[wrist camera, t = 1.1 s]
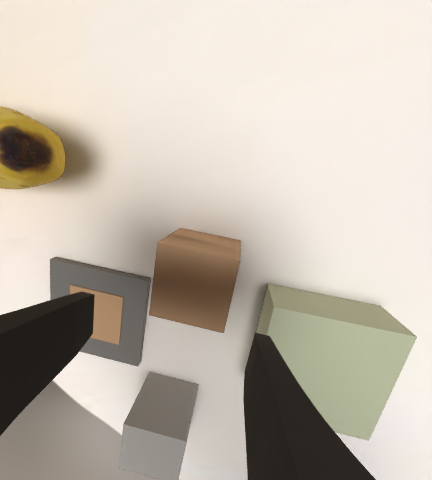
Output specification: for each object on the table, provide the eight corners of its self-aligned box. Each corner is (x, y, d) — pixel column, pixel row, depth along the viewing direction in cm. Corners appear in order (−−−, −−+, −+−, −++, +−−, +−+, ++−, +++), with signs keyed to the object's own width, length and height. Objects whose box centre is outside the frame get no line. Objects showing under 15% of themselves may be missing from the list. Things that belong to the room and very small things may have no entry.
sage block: (344, 391, 20) (368, 440, 16) (246, 368, 20) (247, 410, 17) (378, 304, 18) (417, 337, 14) (267, 281, 18) (273, 307, 14)
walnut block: (228, 295, 19) (223, 333, 14) (172, 282, 19) (148, 315, 14) (240, 240, 17) (240, 260, 13) (180, 227, 18) (157, 242, 13)
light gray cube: (191, 421, 23) (177, 485, 18) (145, 408, 23) (119, 468, 18) (198, 383, 21) (186, 441, 16) (150, 371, 22) (123, 424, 17)
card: (140, 361, 21) (137, 367, 21) (56, 339, 22) (50, 344, 21) (150, 278, 19) (147, 281, 18) (55, 256, 20) (49, 259, 19)
